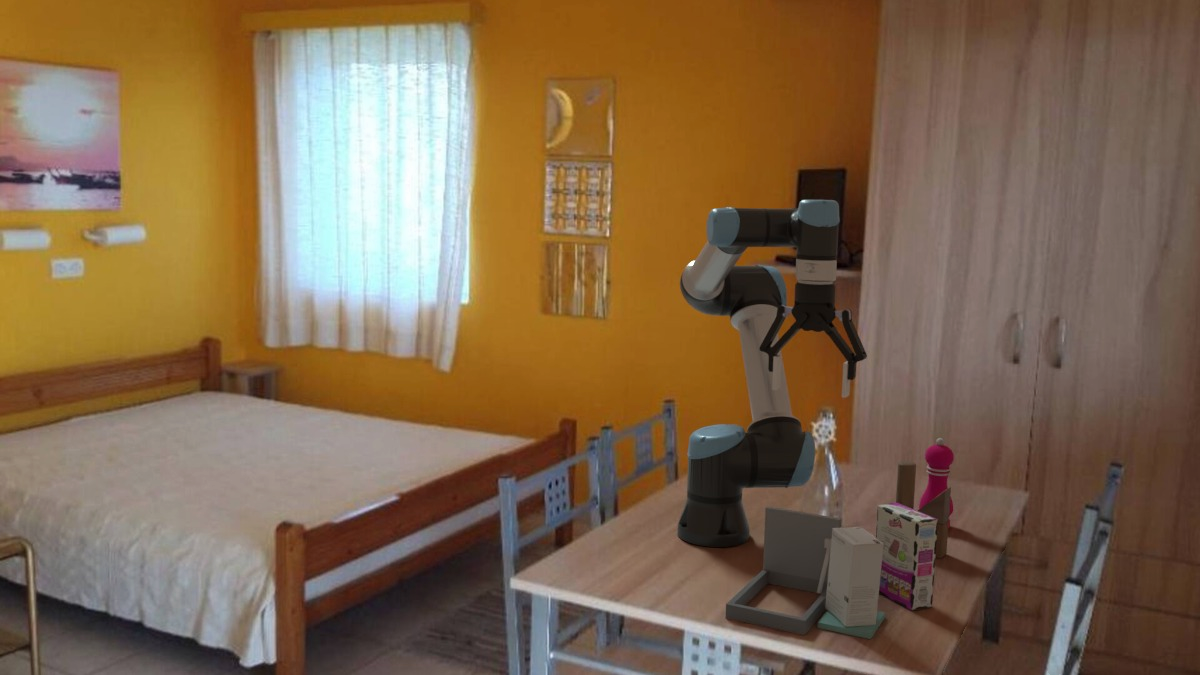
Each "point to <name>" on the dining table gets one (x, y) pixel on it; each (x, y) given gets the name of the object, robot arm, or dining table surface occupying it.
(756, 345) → the robot arm
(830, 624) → the pad
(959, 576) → the dining table surface
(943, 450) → the pepper mill
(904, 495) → the wooden peg stand
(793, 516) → the case
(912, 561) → the candy bar box
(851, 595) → the skincare box
